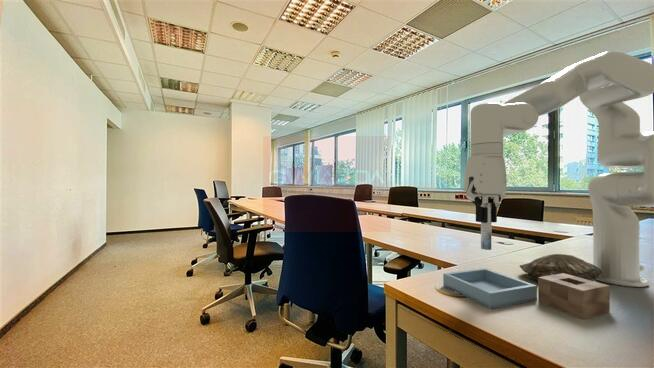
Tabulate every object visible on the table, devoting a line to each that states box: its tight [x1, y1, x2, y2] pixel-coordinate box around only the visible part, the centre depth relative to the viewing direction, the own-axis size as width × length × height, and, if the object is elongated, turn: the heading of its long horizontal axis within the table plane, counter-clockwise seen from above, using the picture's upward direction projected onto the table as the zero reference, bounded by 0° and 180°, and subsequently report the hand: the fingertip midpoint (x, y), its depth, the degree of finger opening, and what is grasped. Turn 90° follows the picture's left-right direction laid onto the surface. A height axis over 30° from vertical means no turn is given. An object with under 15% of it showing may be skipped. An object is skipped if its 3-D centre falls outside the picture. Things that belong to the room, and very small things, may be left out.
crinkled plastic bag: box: [519, 253, 603, 282], centre depth 82 cm, size 16×9×20 cm
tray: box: [442, 267, 538, 309], centre depth 73 cm, size 15×15×4 cm
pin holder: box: [537, 273, 611, 320], centre depth 64 cm, size 9×9×6 cm
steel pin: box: [480, 203, 493, 251], centre depth 73 cm, size 2×2×12 cm
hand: (486, 221), depth 73 cm, fingers closed on steel pin, 2 cm apart
